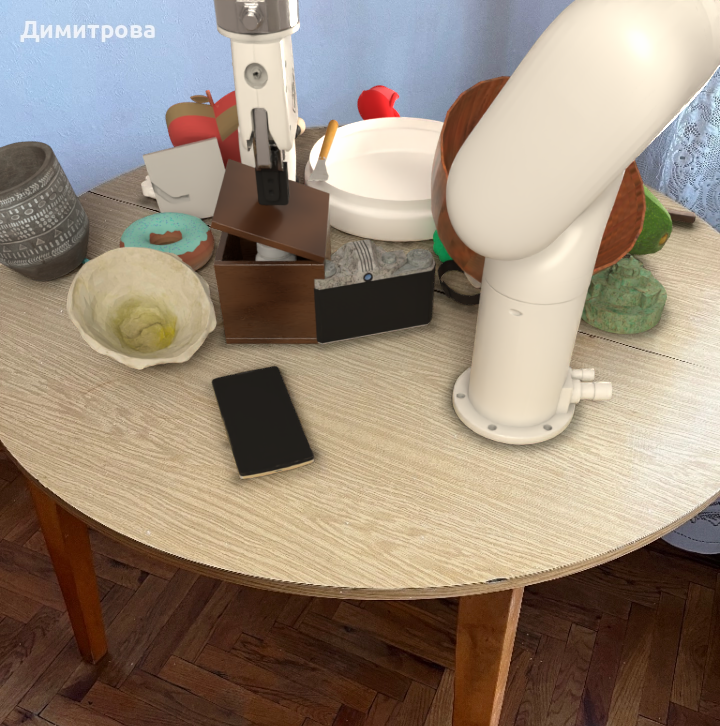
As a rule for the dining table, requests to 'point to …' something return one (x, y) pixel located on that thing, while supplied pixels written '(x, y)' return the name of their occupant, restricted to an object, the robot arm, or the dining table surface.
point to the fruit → (653, 227)
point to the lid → (272, 214)
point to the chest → (266, 294)
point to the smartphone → (261, 422)
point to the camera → (373, 292)
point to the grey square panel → (187, 177)
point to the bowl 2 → (454, 133)
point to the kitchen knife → (681, 216)
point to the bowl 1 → (141, 307)
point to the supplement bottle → (273, 254)
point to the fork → (324, 153)
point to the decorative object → (206, 123)
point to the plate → (380, 178)
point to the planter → (39, 214)
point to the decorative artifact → (624, 299)
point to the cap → (377, 103)
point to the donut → (172, 236)
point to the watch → (460, 298)
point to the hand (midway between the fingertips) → (274, 201)
